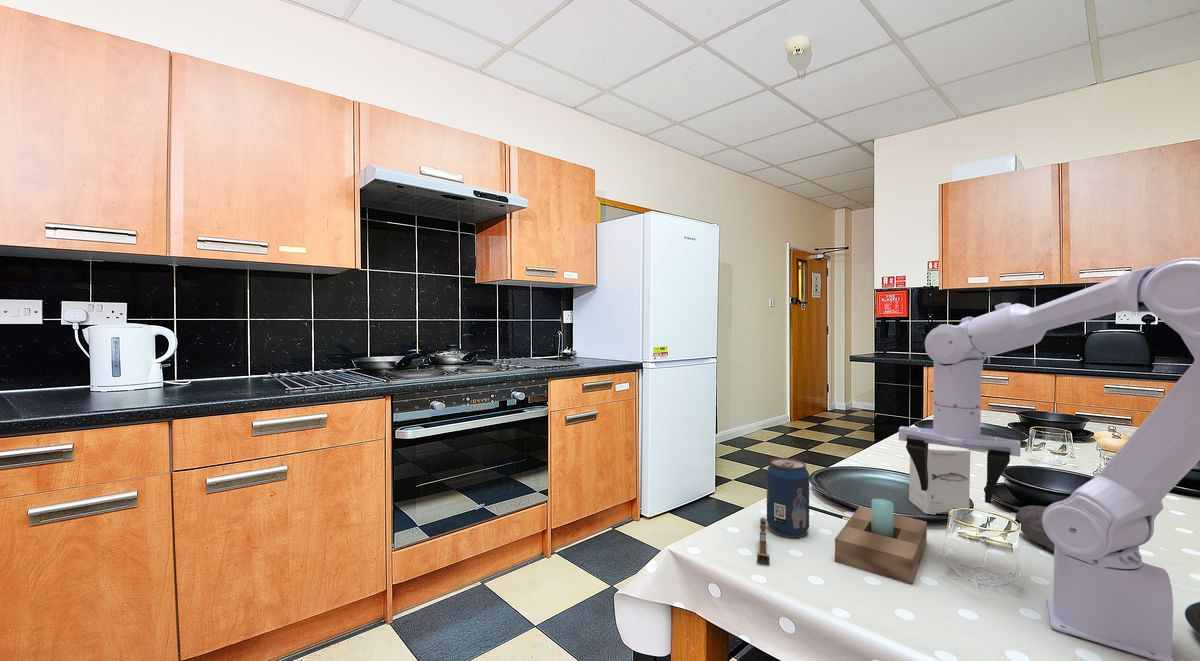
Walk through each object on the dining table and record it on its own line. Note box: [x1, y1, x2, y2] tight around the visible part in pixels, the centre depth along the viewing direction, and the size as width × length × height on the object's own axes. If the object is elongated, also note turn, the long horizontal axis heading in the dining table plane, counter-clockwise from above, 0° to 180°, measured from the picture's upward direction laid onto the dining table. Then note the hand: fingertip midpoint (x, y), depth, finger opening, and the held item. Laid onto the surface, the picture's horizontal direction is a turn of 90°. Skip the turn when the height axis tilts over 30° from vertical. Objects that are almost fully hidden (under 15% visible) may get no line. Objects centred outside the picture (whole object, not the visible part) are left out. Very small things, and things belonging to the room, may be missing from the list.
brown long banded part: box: [756, 516, 771, 565], centre depth 76 cm, size 2×8×4 cm, turn 161°
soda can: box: [766, 457, 810, 539], centre depth 83 cm, size 7×7×12 cm
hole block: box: [834, 506, 928, 585], centre depth 76 cm, size 10×16×4 cm, turn 140°
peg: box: [871, 498, 895, 538], centre depth 76 cm, size 3×3×8 cm
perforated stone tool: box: [1015, 505, 1055, 553], centre depth 75 cm, size 15×5×7 cm, turn 6°
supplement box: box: [908, 443, 971, 515], centre depth 92 cm, size 7×7×13 cm
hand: (955, 494), depth 72 cm, fingers open, 7 cm apart
